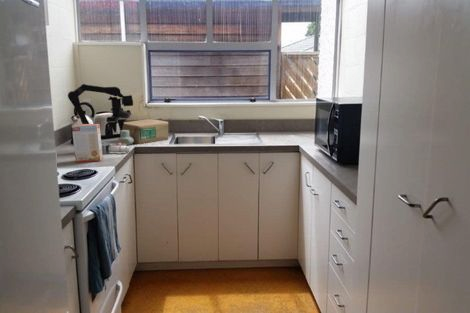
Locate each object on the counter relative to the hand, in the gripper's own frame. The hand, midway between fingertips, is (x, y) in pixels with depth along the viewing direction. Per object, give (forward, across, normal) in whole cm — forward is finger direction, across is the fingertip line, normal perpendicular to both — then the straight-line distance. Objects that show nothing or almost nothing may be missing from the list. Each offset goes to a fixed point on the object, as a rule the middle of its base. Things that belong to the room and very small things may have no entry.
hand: (118, 131), depth 268 cm
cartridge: (+12, -12, -5) cm, 17 cm away
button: (+12, +1, +1) cm, 12 cm away
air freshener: (+12, +16, +3) cm, 20 cm away
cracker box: (+12, -34, +3) cm, 36 cm away
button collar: (+12, +1, +1) cm, 12 cm away
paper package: (+12, +35, -4) cm, 38 cm away
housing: (+12, -12, +6) cm, 18 cm away
